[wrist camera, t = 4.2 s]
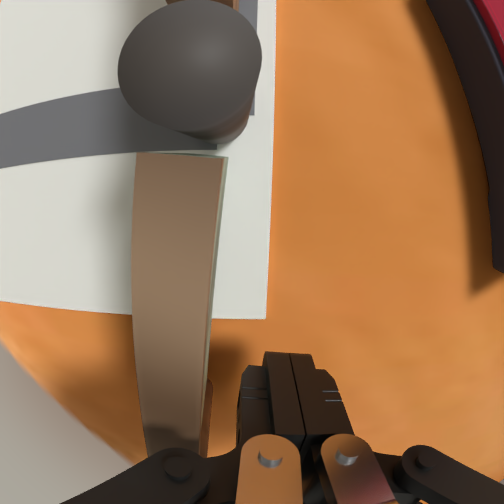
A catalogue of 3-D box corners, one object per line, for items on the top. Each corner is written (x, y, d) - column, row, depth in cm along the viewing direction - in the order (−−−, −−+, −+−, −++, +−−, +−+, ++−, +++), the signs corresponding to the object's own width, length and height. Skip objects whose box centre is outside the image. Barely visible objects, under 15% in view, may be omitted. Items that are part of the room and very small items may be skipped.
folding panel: (185, 152, 10) (116, 151, 4) (237, 158, 10) (234, 160, 4) (174, 397, 14) (150, 510, 7) (211, 401, 14) (202, 518, 8)
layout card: (11, -21, 7) (9, -23, 7) (275, -73, 8) (276, -77, 8) (1, 298, 13) (-3, 300, 12) (265, 315, 13) (265, 319, 13)
